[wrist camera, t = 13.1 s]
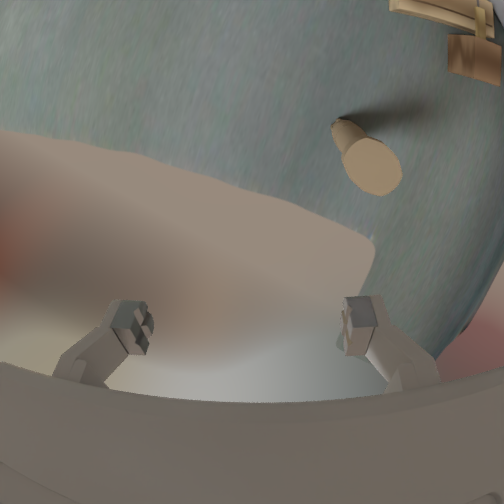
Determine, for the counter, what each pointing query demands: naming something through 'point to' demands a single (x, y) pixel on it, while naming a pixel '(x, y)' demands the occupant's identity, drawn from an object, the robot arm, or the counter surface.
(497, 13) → the plastic bottle
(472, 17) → the board
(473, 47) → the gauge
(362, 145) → the handle
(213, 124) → the counter surface
